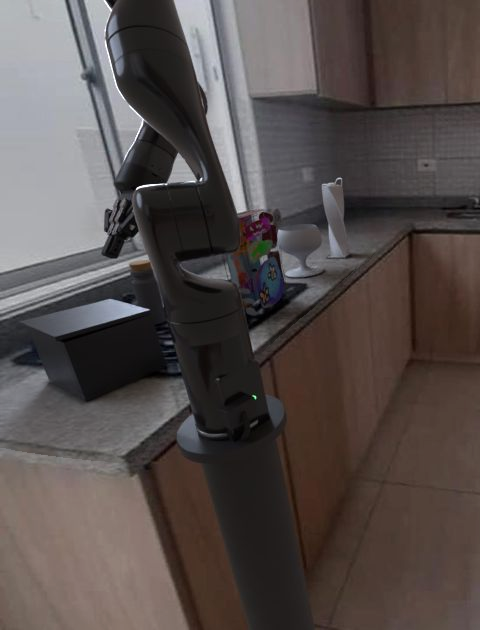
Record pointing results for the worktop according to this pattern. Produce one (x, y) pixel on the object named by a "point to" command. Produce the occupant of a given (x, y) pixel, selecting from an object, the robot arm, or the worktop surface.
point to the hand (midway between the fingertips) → (108, 256)
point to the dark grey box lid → (83, 319)
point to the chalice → (300, 246)
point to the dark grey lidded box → (102, 357)
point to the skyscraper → (335, 220)
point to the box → (258, 261)
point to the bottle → (147, 289)
